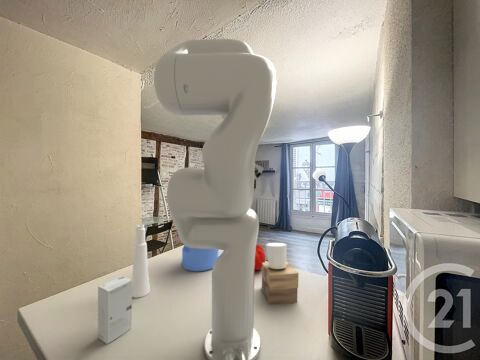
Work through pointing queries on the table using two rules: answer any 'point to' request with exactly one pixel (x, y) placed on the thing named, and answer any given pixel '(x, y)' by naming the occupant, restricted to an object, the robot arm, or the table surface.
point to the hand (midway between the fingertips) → (239, 190)
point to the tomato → (259, 257)
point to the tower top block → (280, 277)
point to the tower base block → (279, 294)
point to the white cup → (276, 255)
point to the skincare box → (114, 309)
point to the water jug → (198, 258)
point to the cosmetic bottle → (140, 265)
